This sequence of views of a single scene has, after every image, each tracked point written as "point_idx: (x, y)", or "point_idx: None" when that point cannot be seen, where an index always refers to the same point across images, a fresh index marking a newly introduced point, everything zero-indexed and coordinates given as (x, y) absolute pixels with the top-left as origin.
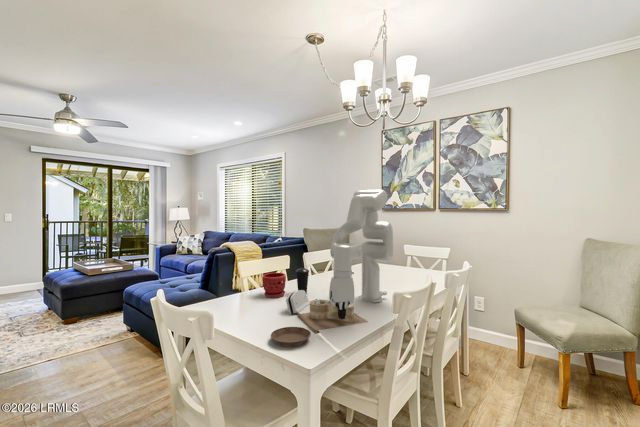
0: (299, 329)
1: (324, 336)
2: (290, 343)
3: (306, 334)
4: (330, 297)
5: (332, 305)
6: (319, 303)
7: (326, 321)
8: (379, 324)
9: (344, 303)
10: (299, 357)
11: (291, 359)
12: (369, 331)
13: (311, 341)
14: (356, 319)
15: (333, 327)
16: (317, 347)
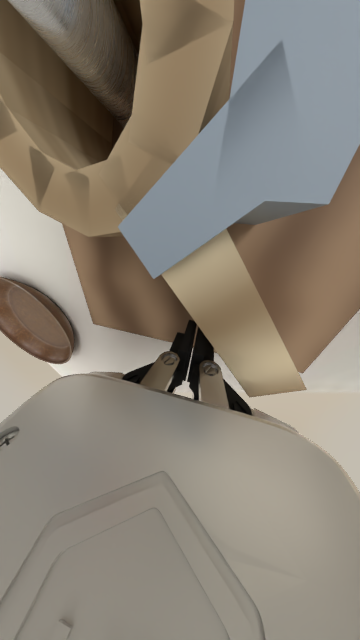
0: (44, 303)
1: (117, 345)
2: (38, 353)
3: (69, 329)
4: (51, 392)
5: (166, 279)
6: (61, 33)
7: (149, 275)
8: (329, 386)
9: (214, 398)
10: (66, 372)
11: (55, 369)
12: (239, 390)
13: (85, 347)
14: (288, 330)
15: (150, 335)
16: (94, 368)
